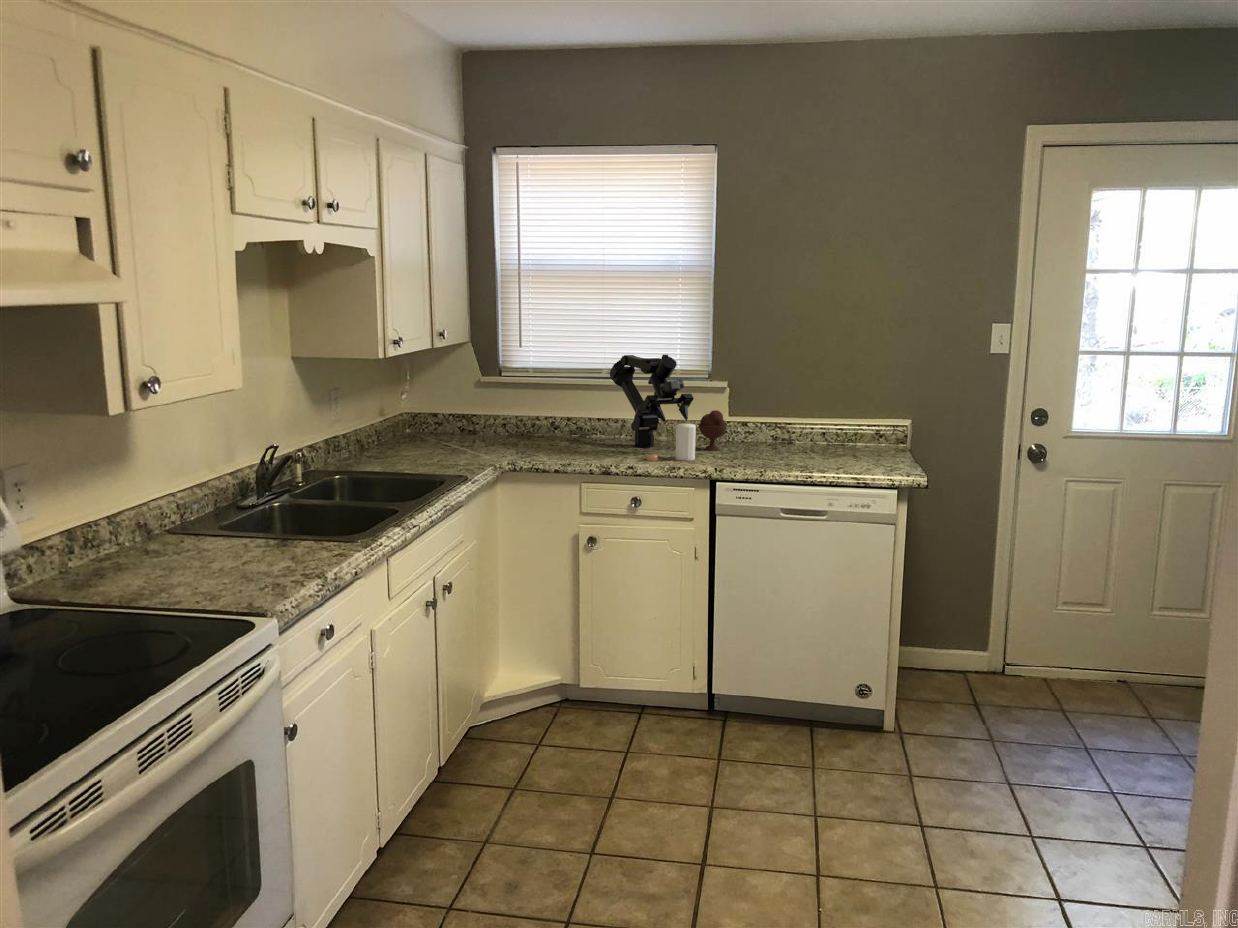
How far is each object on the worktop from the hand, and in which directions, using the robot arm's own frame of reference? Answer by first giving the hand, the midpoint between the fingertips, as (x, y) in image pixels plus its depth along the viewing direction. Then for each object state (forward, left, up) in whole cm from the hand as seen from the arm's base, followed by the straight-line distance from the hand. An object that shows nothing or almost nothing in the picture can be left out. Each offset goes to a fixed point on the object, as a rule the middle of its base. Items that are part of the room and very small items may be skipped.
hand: (675, 420), depth 335 cm
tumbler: (+6, -4, -13) cm, 15 cm away
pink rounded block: (-2, -13, -13) cm, 19 cm away
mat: (+5, -4, -13) cm, 15 cm away
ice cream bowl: (+4, +21, -13) cm, 26 cm away
